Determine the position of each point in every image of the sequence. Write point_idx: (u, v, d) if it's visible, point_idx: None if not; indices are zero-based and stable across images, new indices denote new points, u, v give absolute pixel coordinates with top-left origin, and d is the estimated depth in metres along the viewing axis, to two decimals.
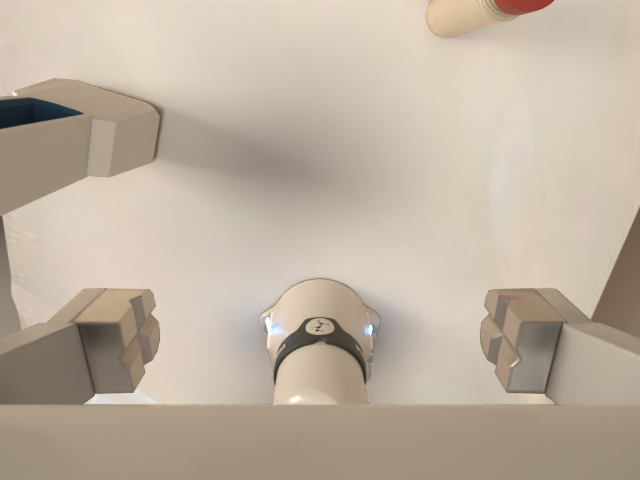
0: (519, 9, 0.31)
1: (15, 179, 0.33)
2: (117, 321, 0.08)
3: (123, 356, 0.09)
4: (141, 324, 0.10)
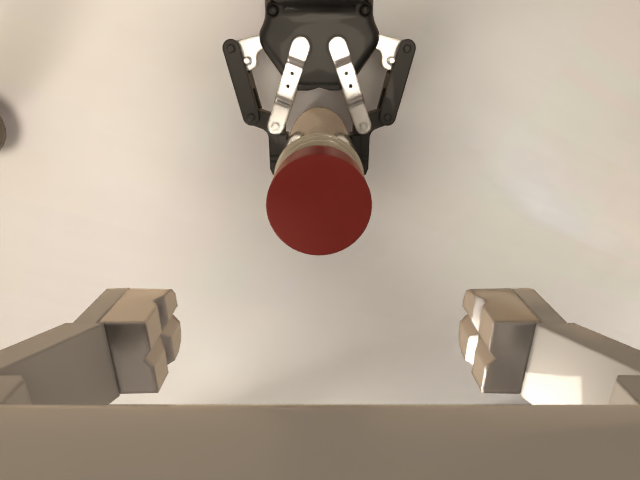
0: (344, 247, 0.19)
1: None
2: (143, 321, 0.08)
3: (148, 356, 0.09)
4: (164, 324, 0.10)
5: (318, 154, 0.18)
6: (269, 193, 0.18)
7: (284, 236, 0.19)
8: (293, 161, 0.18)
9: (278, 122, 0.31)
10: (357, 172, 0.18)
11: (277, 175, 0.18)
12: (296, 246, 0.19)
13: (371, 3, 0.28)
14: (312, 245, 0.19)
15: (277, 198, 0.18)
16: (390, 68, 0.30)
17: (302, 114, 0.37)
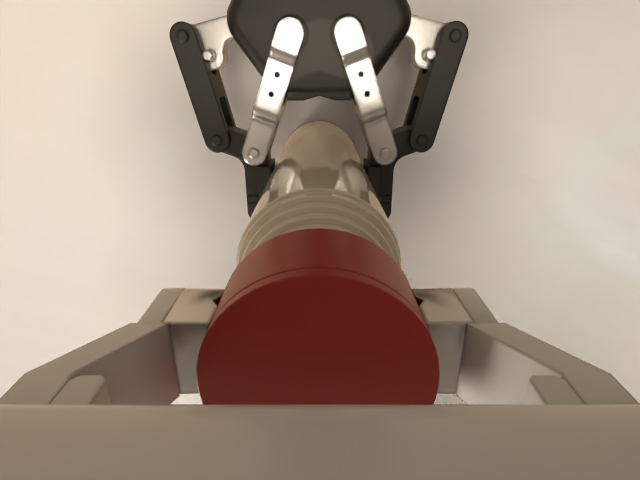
0: None
1: None
2: (207, 321, 0.08)
3: None
4: None
5: (316, 274, 0.07)
6: (202, 357, 0.08)
7: None
8: (255, 290, 0.07)
9: (258, 148, 0.21)
10: (410, 314, 0.07)
11: (218, 320, 0.07)
12: None
13: None
14: None
15: (221, 367, 0.08)
16: (427, 66, 0.20)
17: (296, 131, 0.27)
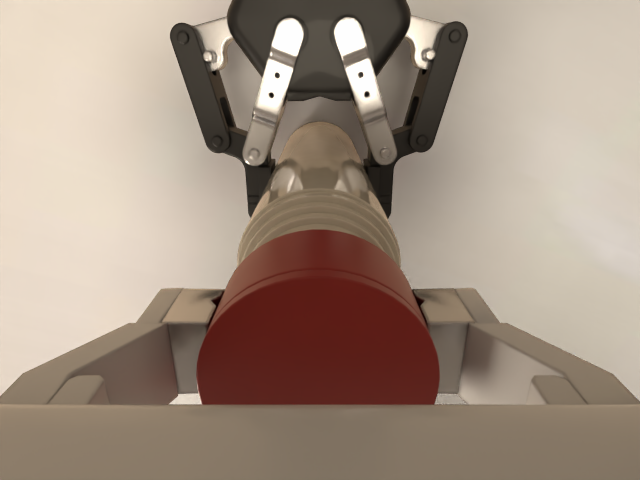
0: None
1: None
2: (206, 321, 0.08)
3: None
4: None
5: (198, 366, 0.08)
6: None
7: None
8: None
9: (258, 148, 0.21)
10: (246, 299, 0.07)
11: None
12: None
13: None
14: None
15: None
16: (426, 67, 0.20)
17: (296, 132, 0.27)
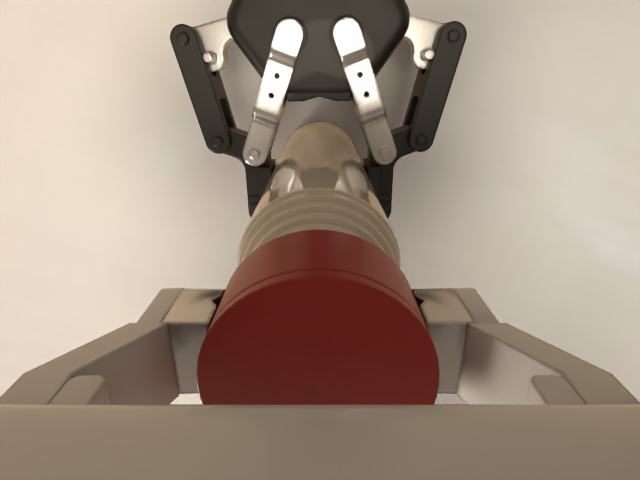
0: (293, 277, 0.07)
1: None
2: (206, 321, 0.08)
3: None
4: None
5: None
6: None
7: (423, 353, 0.08)
8: None
9: (258, 148, 0.21)
10: None
11: None
12: (407, 322, 0.07)
13: None
14: (369, 312, 0.07)
15: None
16: (425, 66, 0.20)
17: (296, 132, 0.27)
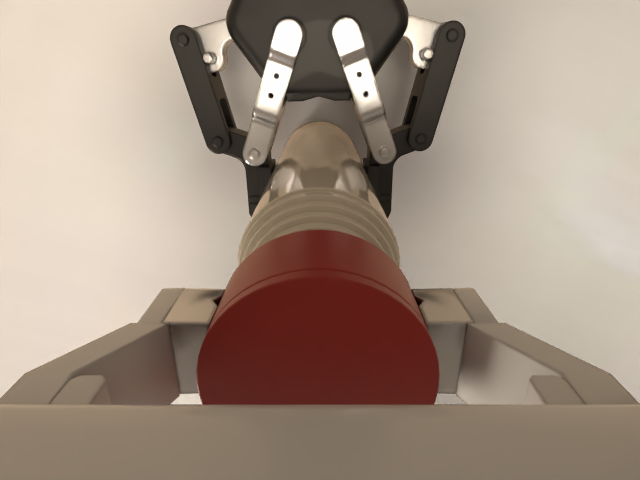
0: None
1: None
2: (207, 321, 0.08)
3: None
4: None
5: None
6: (408, 315, 0.07)
7: (294, 292, 0.07)
8: (436, 387, 0.08)
9: (258, 148, 0.21)
10: None
11: (432, 349, 0.08)
12: (254, 302, 0.07)
13: None
14: (238, 333, 0.08)
15: (388, 325, 0.07)
16: (424, 66, 0.20)
17: (296, 132, 0.27)
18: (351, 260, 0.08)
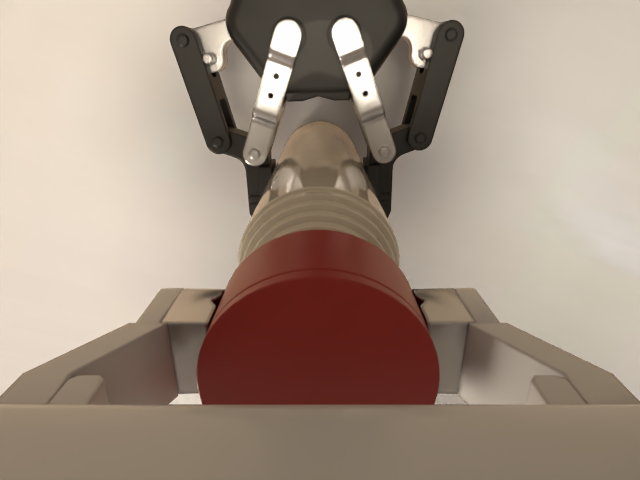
0: None
1: None
2: (206, 321, 0.08)
3: None
4: None
5: (400, 302, 0.07)
6: (246, 300, 0.07)
7: (209, 388, 0.08)
8: (345, 280, 0.07)
9: (258, 148, 0.21)
10: (436, 380, 0.08)
11: (292, 281, 0.07)
12: None
13: None
14: None
15: (254, 319, 0.07)
16: (424, 65, 0.20)
17: (296, 132, 0.27)
18: (214, 315, 0.08)
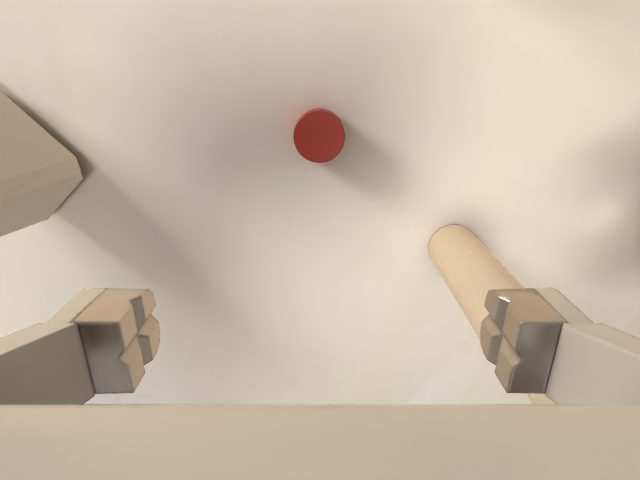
0: (342, 145, 0.38)
1: None
2: (117, 321, 0.08)
3: (123, 356, 0.09)
4: (141, 324, 0.10)
5: (302, 117, 0.37)
6: (296, 147, 0.38)
7: (315, 159, 0.39)
8: (295, 127, 0.38)
9: None
10: (322, 111, 0.37)
11: (294, 137, 0.38)
12: (323, 160, 0.39)
13: None
14: (329, 154, 0.39)
15: (301, 146, 0.38)
16: None
17: (474, 235, 0.43)
18: None
